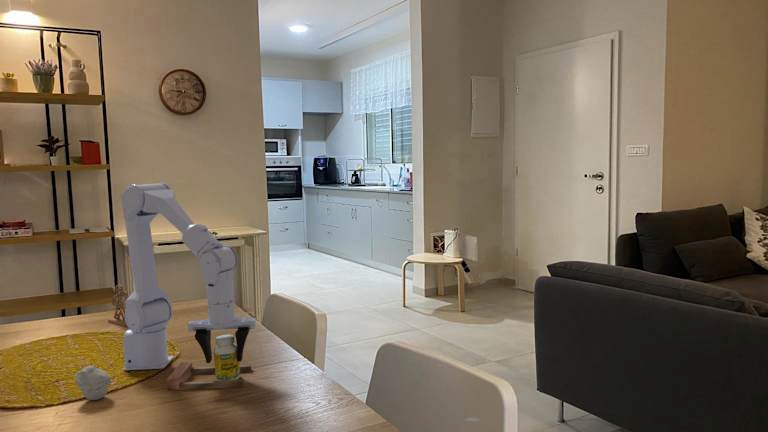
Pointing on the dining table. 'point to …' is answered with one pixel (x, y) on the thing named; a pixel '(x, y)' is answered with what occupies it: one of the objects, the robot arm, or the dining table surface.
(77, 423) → the dining table surface
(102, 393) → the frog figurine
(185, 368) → the guide channel
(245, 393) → the dining table surface
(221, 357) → the supplement bottle
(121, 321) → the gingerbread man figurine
